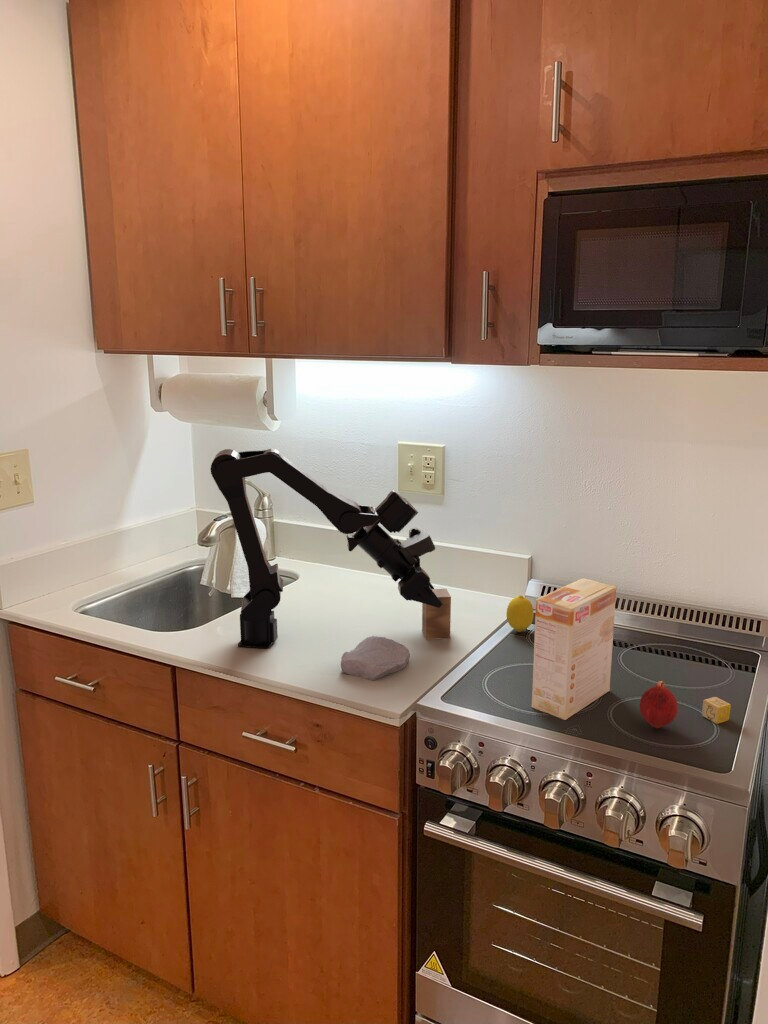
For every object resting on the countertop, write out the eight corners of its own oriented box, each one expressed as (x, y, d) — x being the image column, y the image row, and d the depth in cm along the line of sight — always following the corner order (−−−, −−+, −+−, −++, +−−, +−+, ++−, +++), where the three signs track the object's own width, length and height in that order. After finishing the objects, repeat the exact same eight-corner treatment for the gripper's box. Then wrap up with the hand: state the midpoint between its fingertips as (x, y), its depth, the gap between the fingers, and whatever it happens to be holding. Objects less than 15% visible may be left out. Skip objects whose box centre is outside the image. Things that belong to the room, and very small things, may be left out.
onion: (675, 740, 127) (679, 692, 125) (636, 733, 129) (640, 686, 127) (676, 722, 132) (680, 677, 130) (639, 716, 134) (643, 671, 132)
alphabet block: (714, 712, 136) (715, 695, 135) (729, 720, 133) (731, 703, 132) (701, 716, 134) (702, 699, 134) (716, 724, 132) (718, 707, 131)
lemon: (518, 639, 166) (520, 602, 164) (500, 630, 170) (501, 594, 168) (538, 633, 169) (540, 596, 167) (520, 624, 173) (521, 589, 171)
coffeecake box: (575, 679, 148) (581, 576, 143) (611, 691, 143) (619, 586, 138) (529, 707, 137) (534, 598, 133) (565, 721, 133) (572, 608, 128)
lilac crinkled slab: (412, 669, 156) (369, 649, 161) (417, 648, 155) (373, 628, 159) (380, 695, 147) (335, 673, 151) (384, 673, 145) (338, 651, 149)
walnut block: (425, 639, 166) (426, 597, 163) (422, 630, 170) (422, 589, 168) (450, 638, 166) (450, 596, 164) (445, 629, 171) (446, 588, 169)
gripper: (418, 532, 153) (474, 585, 157) (404, 508, 171) (455, 557, 175) (376, 573, 154) (433, 625, 158) (367, 546, 172) (419, 593, 176)
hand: (436, 598), depth 166 cm, fingers open, 9 cm apart
